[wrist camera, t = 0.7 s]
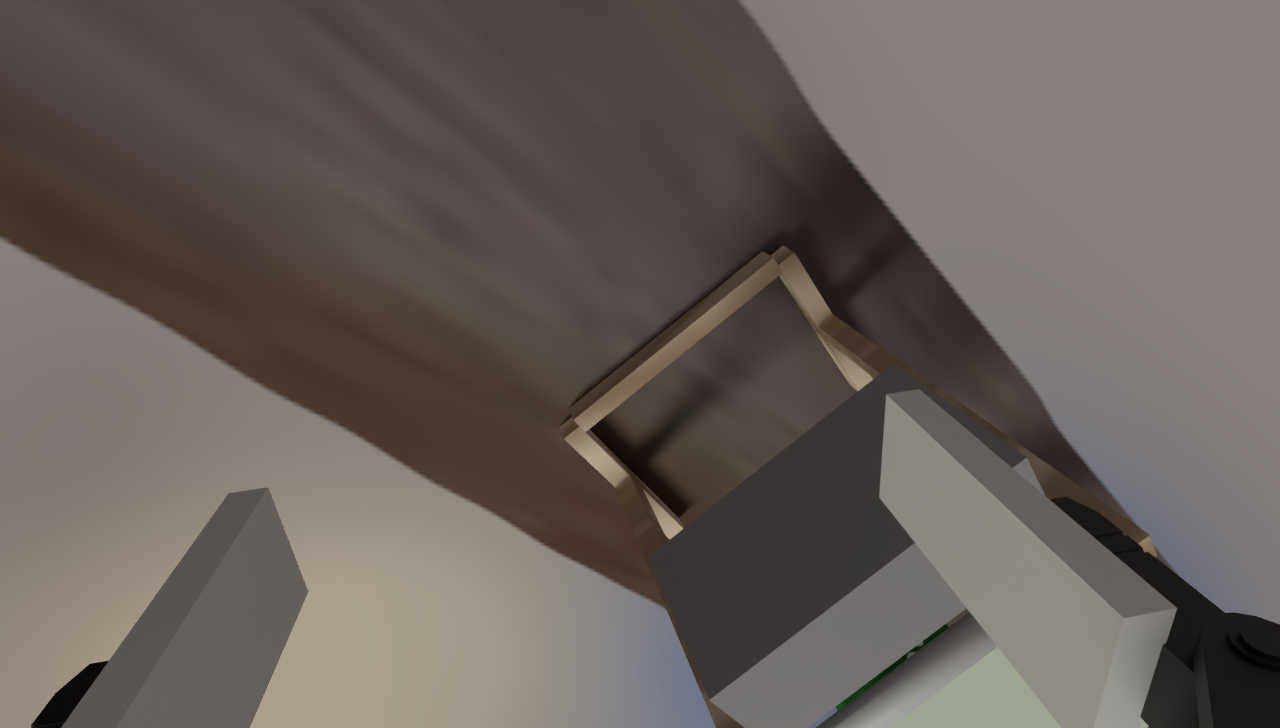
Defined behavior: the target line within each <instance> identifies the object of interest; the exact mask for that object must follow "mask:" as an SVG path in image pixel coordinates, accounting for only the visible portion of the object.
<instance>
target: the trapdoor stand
mask: <svg viewBox="0 0 1280 728" xmlns="http://www.w3.org/2000/svg"><path fill="white" fill-rule="evenodd" d="M778 276H779V277H780V278H781V280H782V281H783V283H784V285H785V286H786V288H787V289H788V291H789V292H790V294H791V295H792V297H793V298H794V300H795V301H796V303H797V305H798V306H799V308H800V309H801V311H802V312H803V314H804V315H805V317H806V318H807V320H808V321H809V323H810V325H811V326H812V328H813V329H814V331H815V332H816V334H817V335H818V337H819V338H820V340H821V341H822V343H823V345H824V346H825V348H826V349H827V351H828V352H829V354H830V355H831V357H832V358H833V360H834V361H835V363H836V365H837V366H838V368H839V369H840V371H841V372H842V374H843V375H844V377H845V378H846V380H847V381H848V383H849V384H850V385H851V386H852V387H853V388H854V389H856V390H857V391H859V390H860V389H862V388H863V387H864V386H865V385H867V384H868V383H869V382H871V381H872V380H873V379H872V377H873V378H876V377H877V376H878V375H879V374H881V373H882V372H883V371H885V370H886V369H887V368H888V367H890V366H891V365H892V364H893V363H894V364H896V365H897V366H899V367H900V368H901V369H903V370H904V371H906V372H907V373H908V374H910V375H911V376H913V377H914V378H916V379H917V380H918V381H920V382H921V383H923V384H924V385H925V386H927V387H928V388H930V389H931V390H932V391H934V392H935V393H937V394H938V395H939V396H941V397H942V398H944V399H945V400H947V401H948V402H949V403H951V404H952V405H954V406H955V407H956V408H958V409H959V410H961V411H962V412H963V413H965V414H966V415H968V416H969V417H970V418H972V419H973V420H975V421H976V422H978V423H979V424H980V425H982V426H983V427H985V428H986V429H987V430H989V431H990V432H992V433H993V434H994V435H996V436H997V437H999V438H1000V439H1001V440H1003V441H1004V442H1006V443H1007V444H1009V445H1010V446H1011V447H1013V448H1014V449H1016V450H1017V451H1018V452H1020V453H1021V454H1023V455H1024V456H1025V457H1027V459H1028V461H1029V463H1030V465H1031V467H1032V469H1033V471H1034V474H1035V476H1036V478H1037V480H1038V482H1039V484H1040V486H1041V488H1042V490H1043V492H1044V494H1045V496H1046V497H1047V498H1048V499H1055V498H1061V497H1068V498H1070V499H1072V500H1074V501H1077V502H1079V503H1081V504H1083V505H1085V506H1087V507H1089V508H1091V509H1093V510H1095V511H1097V512H1099V513H1100V514H1101V515H1103V516H1104V517H1105V518H1106V519H1108V520H1109V521H1110V522H1111V523H1113V524H1114V525H1115V526H1116V527H1118V528H1119V529H1120V530H1122V531H1123V535H1124V536H1126V535H1128V536H1129V537H1130V538H1132V539H1133V540H1134V541H1135V542H1137V543H1138V544H1139V545H1140V546H1142V547H1143V551H1144V552H1149V553H1150V554H1152V555H1153V556H1154V557H1156V556H1157V554H1156V551H1155V548H1154V545H1153V543H1152V540H1151V537H1150V535H1149V534H1147V533H1146V532H1145V531H1143V530H1142V529H1140V528H1139V527H1137V526H1136V525H1135V524H1133V523H1132V522H1130V521H1129V520H1127V519H1126V518H1125V517H1123V516H1122V515H1120V514H1119V513H1117V512H1116V511H1114V510H1113V509H1112V508H1110V507H1109V506H1107V505H1106V504H1104V503H1103V502H1102V501H1100V500H1099V499H1097V498H1096V497H1094V496H1093V495H1091V494H1090V493H1089V492H1087V491H1086V490H1084V489H1083V488H1081V487H1080V486H1079V485H1077V484H1076V483H1074V482H1073V481H1071V480H1070V479H1069V478H1067V477H1066V476H1064V475H1063V474H1061V473H1060V472H1058V471H1057V470H1056V469H1054V468H1053V467H1051V466H1050V465H1048V464H1047V463H1046V462H1044V461H1043V460H1041V459H1040V458H1038V457H1037V456H1035V455H1034V454H1033V453H1031V452H1030V451H1028V450H1027V449H1025V448H1024V447H1023V446H1021V445H1020V444H1018V443H1017V442H1015V441H1014V440H1012V439H1011V438H1010V437H1008V436H1007V435H1005V434H1004V433H1002V432H1001V431H1000V430H998V429H997V428H995V427H994V426H992V425H991V424H990V423H988V422H987V421H985V420H984V419H982V418H981V417H979V416H978V415H977V414H975V413H974V412H972V411H971V410H969V409H968V408H967V407H965V406H964V405H962V404H961V403H959V402H958V401H956V400H955V399H954V398H952V397H951V396H949V395H948V394H946V393H945V392H944V391H942V390H941V389H939V388H938V387H936V386H935V385H934V384H932V383H931V382H929V381H928V380H926V379H925V378H923V377H922V376H921V375H919V374H918V373H916V372H915V371H913V370H912V369H911V368H909V367H908V366H906V365H905V364H903V363H902V362H900V361H899V360H898V359H896V358H895V357H893V356H892V355H890V354H889V353H888V352H886V351H885V350H883V349H882V348H880V347H879V346H878V345H876V344H875V343H873V342H872V341H870V340H869V339H867V338H866V337H865V336H863V335H862V334H860V333H859V332H857V331H856V330H855V329H853V328H852V327H850V326H849V325H847V324H846V323H844V322H843V321H842V320H840V319H839V318H837V317H836V316H834V315H833V314H832V312H831V311H830V309H829V307H828V306H827V304H826V303H825V301H824V299H823V298H822V296H821V295H820V293H819V291H818V290H817V288H816V286H815V285H814V283H813V282H812V280H811V278H810V277H809V275H808V274H807V272H806V270H805V269H804V267H803V265H802V264H801V262H800V261H799V259H798V257H797V256H796V254H795V252H793V251H792V250H790V249H788V248H787V247H785V246H782V247H780V248H779V249H778V250H777V251H776V252H774V253H773V254H772V255H771V256H770V255H768V254H767V253H765V252H764V251H762V252H761V253H759V254H758V255H757V256H756V257H754V258H753V259H752V260H751V261H749V262H748V263H747V264H746V265H745V266H743V267H742V268H741V269H740V270H738V271H737V272H736V273H735V274H733V275H732V276H731V277H730V278H729V279H727V280H726V281H725V282H724V283H722V284H721V285H720V286H719V287H717V288H716V289H715V290H714V291H713V292H711V293H710V294H709V295H708V296H706V297H705V298H704V299H703V300H701V301H700V302H699V303H698V304H697V305H695V306H694V307H693V308H692V309H690V310H689V311H688V312H687V313H686V314H684V315H683V316H682V317H681V318H679V319H678V320H677V321H676V322H674V323H673V324H672V325H671V326H670V327H668V328H667V329H666V330H665V331H663V332H662V333H661V334H660V335H658V336H657V337H656V338H655V339H654V340H652V341H651V342H650V343H649V344H647V345H646V346H645V347H644V348H642V349H641V350H640V351H639V352H638V353H636V354H635V355H634V356H633V357H631V358H630V359H629V360H628V361H626V362H625V363H624V364H623V365H622V366H620V367H619V368H618V369H617V370H615V371H614V372H613V373H612V374H610V375H609V376H608V377H607V378H606V379H604V380H603V381H602V382H601V383H599V384H598V385H597V386H596V387H594V388H593V389H592V390H591V391H590V392H588V393H587V394H586V395H585V396H583V397H582V398H581V399H580V400H579V401H577V402H576V403H575V404H574V405H572V406H571V407H570V408H569V411H570V413H571V416H572V417H571V418H570V419H569V420H567V421H566V422H565V423H564V424H562V425H561V426H560V429H561V431H562V434H563V437H564V439H565V440H566V441H567V442H568V443H569V444H570V445H571V446H572V447H573V448H574V449H575V450H576V451H577V452H578V453H580V454H581V455H582V456H583V457H584V458H585V459H586V460H587V461H588V462H589V463H590V464H591V465H592V466H593V467H594V468H595V469H596V470H597V471H598V472H600V473H601V474H602V475H603V476H604V477H605V478H606V479H607V480H608V481H609V482H610V483H611V484H612V485H613V486H614V487H615V488H616V490H617V492H618V495H619V497H620V500H621V502H622V504H623V507H624V509H625V511H626V514H627V516H628V519H629V521H630V523H631V526H632V528H633V531H634V533H635V535H636V538H637V540H638V542H639V545H640V547H641V550H642V552H643V554H644V557H645V559H646V562H647V564H648V566H649V569H650V571H651V573H652V576H653V578H654V581H655V583H656V585H657V588H658V590H659V593H660V595H661V597H662V600H663V602H664V604H665V607H666V609H667V612H668V614H669V616H670V619H671V621H672V623H673V626H674V628H675V631H676V633H677V635H678V638H679V640H680V643H681V645H682V647H683V650H684V652H685V655H686V657H687V659H688V662H689V664H690V667H691V669H692V671H693V674H694V676H695V678H696V681H697V683H698V686H699V688H700V690H701V692H702V695H703V697H704V700H705V702H706V705H707V707H708V709H709V712H710V714H711V717H712V719H713V721H714V724H715V726H716V728H744V727H743V726H742V725H741V724H739V723H738V722H737V721H735V720H734V719H733V718H732V717H730V716H729V715H728V714H726V713H725V712H724V711H722V710H721V709H720V708H719V707H717V706H716V705H715V704H713V703H712V702H711V701H710V700H709V699H708V696H707V694H706V692H705V689H704V687H703V685H702V682H701V680H700V678H699V675H698V673H697V671H696V668H695V666H694V663H693V661H692V659H691V656H690V654H689V652H688V649H687V647H686V645H685V642H684V640H683V638H682V635H681V633H680V631H679V628H678V626H677V624H676V621H675V619H674V617H673V614H672V612H671V609H670V607H669V605H668V602H667V600H666V598H665V595H664V593H663V591H662V588H661V586H660V584H659V581H658V579H657V577H656V574H655V572H654V570H653V567H652V565H651V563H650V560H649V558H648V556H650V555H651V554H652V553H653V552H655V551H656V550H657V549H658V548H660V547H661V546H662V545H664V544H665V543H666V542H667V541H668V540H667V538H666V536H667V537H668V538H669V539H671V538H672V537H674V536H675V535H676V534H678V533H679V532H680V531H681V530H683V529H684V526H683V524H682V522H681V520H680V518H679V517H678V516H677V515H676V514H675V513H674V512H672V511H671V510H670V509H669V508H668V507H667V506H666V505H665V504H664V503H663V502H662V501H661V500H660V499H659V498H658V497H657V496H656V495H655V494H654V493H653V492H652V491H651V490H650V489H649V488H648V487H647V486H646V485H645V484H644V483H643V482H642V481H641V480H640V479H639V478H638V477H637V476H636V475H635V474H634V473H633V472H632V471H631V470H630V469H629V468H628V467H627V466H626V465H625V464H624V463H623V462H622V461H621V460H620V459H619V458H618V457H617V456H616V455H615V454H614V453H613V452H612V451H611V450H610V449H609V448H608V447H607V446H606V445H605V444H604V443H603V442H602V441H601V440H600V439H599V438H598V437H597V436H596V435H595V434H594V433H593V432H592V431H591V430H590V428H591V427H593V426H594V425H595V424H596V423H598V422H599V421H600V420H601V419H602V418H604V417H605V416H606V415H607V414H609V413H610V412H611V411H612V410H614V409H615V408H616V407H617V406H619V405H620V404H621V403H622V402H624V401H625V400H626V399H627V398H628V397H630V396H631V395H632V394H633V393H635V392H636V391H637V390H638V389H640V388H641V387H642V386H643V385H645V384H646V383H647V382H648V381H649V380H651V379H652V378H653V377H654V376H656V375H657V374H658V373H659V372H661V371H662V370H663V369H664V368H666V367H667V366H668V365H669V364H671V363H672V362H673V361H674V360H675V359H677V358H678V357H679V356H680V355H682V354H683V353H684V352H685V351H687V350H688V349H689V348H690V347H692V346H693V345H694V344H695V343H696V342H698V341H699V340H700V339H701V338H703V337H704V336H705V335H706V334H708V333H709V332H710V331H711V330H713V329H714V328H715V327H716V326H718V325H719V324H720V323H721V322H722V321H724V320H725V319H726V318H727V317H729V316H730V315H731V314H732V313H734V312H735V311H736V310H737V309H739V308H740V307H741V306H742V305H743V304H745V303H746V302H747V301H748V300H750V299H751V298H752V297H753V296H755V295H756V294H757V293H758V292H760V291H761V290H762V289H763V288H765V287H766V286H767V285H768V284H769V283H771V282H772V281H773V280H774V279H776V278H777V277H778ZM871 376H872V377H871ZM665 535H666V536H665Z"/></svg>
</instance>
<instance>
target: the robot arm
mask: <svg viewBox="0 0 1280 728" xmlns="http://www.w3.org/2000/svg"><path fill="white" fill-rule="evenodd" d="M879 498H880V499H881V500H882V502H883V503H884V504H885V505H886V507H887V508H888V509H889V510H890V512H891V513H892V514H893V515H894V517H895V518H896V519H897V521H898V522H899V523H900V524H901V526H902V527H903V528H904V529H905V531H906V532H907V533H908V534H909V536H910V537H911V538H912V539H913V541H914V542H915V543H916V545H917V546H918V547H919V548H920V550H921V551H922V552H923V553H924V555H925V556H926V557H927V558H928V560H929V561H930V562H931V563H932V565H933V566H934V567H935V569H936V570H937V571H938V572H939V574H940V575H941V576H942V577H943V579H944V580H945V581H946V582H947V584H948V585H949V586H950V588H951V589H952V590H953V591H954V593H955V594H956V595H957V596H958V598H959V599H960V600H961V601H962V603H963V604H964V605H965V606H966V608H967V609H968V610H969V612H970V613H971V614H972V615H973V617H974V618H975V619H976V620H977V622H978V623H979V624H980V625H981V627H982V628H983V629H984V630H985V632H986V633H987V634H988V636H989V637H990V638H991V639H992V641H993V642H994V643H995V644H996V646H997V647H998V648H999V649H1000V651H1001V652H1002V653H1003V654H1004V656H1005V657H1006V658H1007V660H1008V661H1009V662H1010V663H1011V665H1012V666H1013V667H1014V668H1015V670H1016V671H1017V672H1018V673H1019V675H1020V676H1021V677H1022V679H1023V680H1024V681H1025V682H1026V684H1027V685H1028V686H1029V687H1030V689H1031V690H1032V691H1033V692H1034V694H1035V695H1036V696H1037V697H1038V699H1039V700H1040V701H1041V703H1042V704H1043V705H1044V706H1045V708H1046V709H1047V710H1048V711H1049V713H1050V714H1051V715H1052V716H1053V718H1054V719H1055V720H1056V721H1057V723H1058V724H1059V725H1060V727H1061V728H1139V727H1140V724H1141V721H1142V719H1143V720H1144V722H1145V723H1146V724H1147V725H1148V726H1149V727H1150V728H1280V625H1279V624H1276V623H1274V622H1271V621H1268V620H1265V619H1262V618H1260V617H1257V616H1251V615H1245V614H1239V613H1224V612H1223V611H1222V610H1221V609H1219V608H1218V607H1217V606H1216V605H1214V604H1213V603H1212V602H1211V601H1209V600H1208V599H1207V598H1206V597H1204V596H1203V595H1202V594H1200V593H1199V592H1198V591H1197V590H1196V589H1194V588H1193V587H1192V586H1190V585H1189V584H1188V583H1187V582H1185V581H1184V580H1183V579H1182V578H1180V577H1179V576H1178V575H1177V574H1175V573H1174V572H1173V571H1172V570H1170V569H1169V568H1168V567H1167V566H1165V565H1164V564H1163V563H1162V562H1160V561H1159V560H1158V559H1157V558H1155V557H1154V556H1153V555H1152V554H1150V553H1149V552H1144V551H1143V547H1142V546H1140V545H1139V544H1138V543H1137V542H1135V541H1134V540H1133V539H1132V538H1130V537H1129V536H1128V535H1126V536H1124V535H1123V531H1122V530H1120V529H1119V528H1118V527H1116V526H1115V525H1114V524H1113V523H1111V522H1110V521H1109V520H1108V519H1106V518H1105V517H1104V516H1103V515H1101V514H1100V513H1099V512H1097V511H1095V510H1093V509H1091V508H1089V507H1087V506H1085V505H1083V504H1081V503H1079V502H1077V501H1074V500H1072V499H1070V498H1068V497H1061V498H1055V499H1048V498H1047V497H1046V496H1045V495H1043V494H1042V493H1041V492H1040V491H1039V490H1037V489H1036V488H1035V487H1034V486H1033V485H1032V484H1030V483H1029V482H1028V481H1027V480H1026V479H1025V478H1023V477H1022V476H1021V475H1020V474H1019V473H1017V472H1016V471H1015V470H1014V469H1013V468H1012V467H1010V466H1009V465H1008V464H1007V463H1006V462H1005V461H1003V460H1002V459H1001V458H1000V457H999V456H997V455H996V454H995V453H994V452H993V451H992V450H990V449H989V448H988V447H987V446H986V445H984V444H983V443H982V442H981V441H980V440H979V439H977V438H976V437H975V436H974V435H973V434H972V433H970V432H969V431H968V430H967V429H966V428H964V427H963V426H962V425H961V424H960V423H959V422H957V421H956V420H955V419H954V418H953V417H952V416H950V415H949V414H948V413H947V412H946V411H944V410H943V409H942V408H941V407H940V406H939V405H937V404H936V403H935V402H934V401H933V400H931V399H930V398H929V397H928V396H927V395H926V394H924V393H923V392H922V391H921V390H920V389H917V390H910V391H904V392H897V393H891V394H886V405H885V420H884V434H883V449H882V464H881V478H880V493H879ZM307 593H308V590H307V587H306V585H305V582H304V580H303V577H302V574H301V572H300V569H299V567H298V564H297V561H296V559H295V556H294V554H293V551H292V548H291V546H290V543H289V540H288V538H287V535H286V533H285V530H284V527H283V525H282V522H281V520H280V517H279V514H278V512H277V509H276V507H275V504H274V501H273V499H272V497H271V494H270V491H269V489H268V488H261V489H255V490H248V491H241V492H235V493H229V494H228V495H227V497H226V498H225V500H224V501H223V502H222V504H221V505H220V506H219V508H218V509H217V511H216V512H215V513H214V515H213V516H212V518H211V519H210V521H209V522H208V523H207V525H206V526H205V527H204V529H203V530H202V532H201V533H200V534H199V536H198V537H197V539H196V540H195V541H194V543H193V544H192V546H191V547H190V548H189V550H188V551H187V553H186V554H185V555H184V557H183V558H182V560H181V561H180V562H179V564H178V565H177V566H176V568H175V569H174V571H173V572H172V574H171V575H170V576H169V578H168V579H167V580H166V582H165V583H164V585H163V586H162V587H161V589H160V590H159V592H158V593H157V594H156V596H155V597H154V599H153V600H152V602H151V603H150V604H149V606H148V607H147V609H146V610H145V611H144V613H143V614H142V615H141V617H140V618H139V620H138V621H137V622H136V624H135V625H134V627H133V628H132V630H131V631H130V632H129V634H128V635H127V636H126V638H125V639H124V641H123V642H122V643H121V645H120V646H119V648H118V649H117V650H116V652H115V653H114V655H113V656H112V657H111V659H110V660H109V661H104V662H99V663H93V664H89V665H88V666H87V667H86V668H85V669H83V671H81V672H80V673H79V674H78V675H76V676H75V677H74V678H73V679H72V680H71V681H69V682H68V683H67V684H66V685H65V686H64V687H63V688H61V689H60V690H59V691H58V692H57V693H55V695H54V696H53V697H52V699H51V700H50V701H49V702H48V704H47V705H46V707H45V708H44V709H43V710H42V712H41V713H40V714H39V716H38V717H37V718H36V720H35V721H34V722H33V724H32V725H31V728H250V725H251V723H252V721H253V718H254V716H255V714H256V711H257V709H258V707H259V705H260V702H261V700H262V698H263V695H264V693H265V691H266V688H267V686H268V684H269V681H270V679H271V677H272V674H273V672H274V670H275V668H276V665H277V663H278V661H279V658H280V656H281V653H282V651H283V649H284V647H285V644H286V642H287V640H288V637H289V635H290V633H291V630H292V628H293V625H294V623H295V621H296V619H297V617H298V614H299V612H300V609H301V607H302V605H303V603H304V600H305V598H306V596H307Z"/></svg>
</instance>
